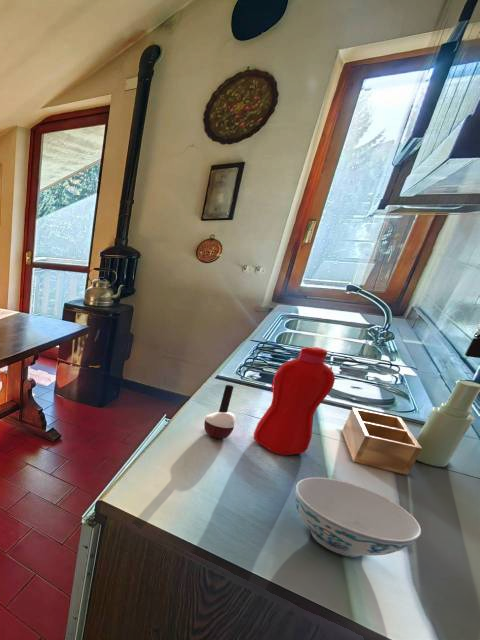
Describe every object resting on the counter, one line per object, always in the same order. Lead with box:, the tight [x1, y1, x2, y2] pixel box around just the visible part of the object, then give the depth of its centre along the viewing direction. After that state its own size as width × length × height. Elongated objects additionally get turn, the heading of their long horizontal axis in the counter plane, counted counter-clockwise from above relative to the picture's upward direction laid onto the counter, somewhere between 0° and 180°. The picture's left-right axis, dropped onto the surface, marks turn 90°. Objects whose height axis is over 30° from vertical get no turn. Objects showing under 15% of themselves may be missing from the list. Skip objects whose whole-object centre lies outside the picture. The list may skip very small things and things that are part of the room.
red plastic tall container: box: [253, 346, 336, 456], centre depth 90 cm, size 9×11×25 cm
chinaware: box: [294, 477, 422, 558], centre depth 65 cm, size 15×15×8 cm
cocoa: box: [203, 384, 236, 440], centre depth 96 cm, size 10×6×12 cm, turn 122°
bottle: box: [415, 380, 480, 468], centre depth 86 cm, size 6×6×19 cm
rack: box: [341, 407, 422, 476], centre depth 91 cm, size 9×17×7 cm, turn 145°
